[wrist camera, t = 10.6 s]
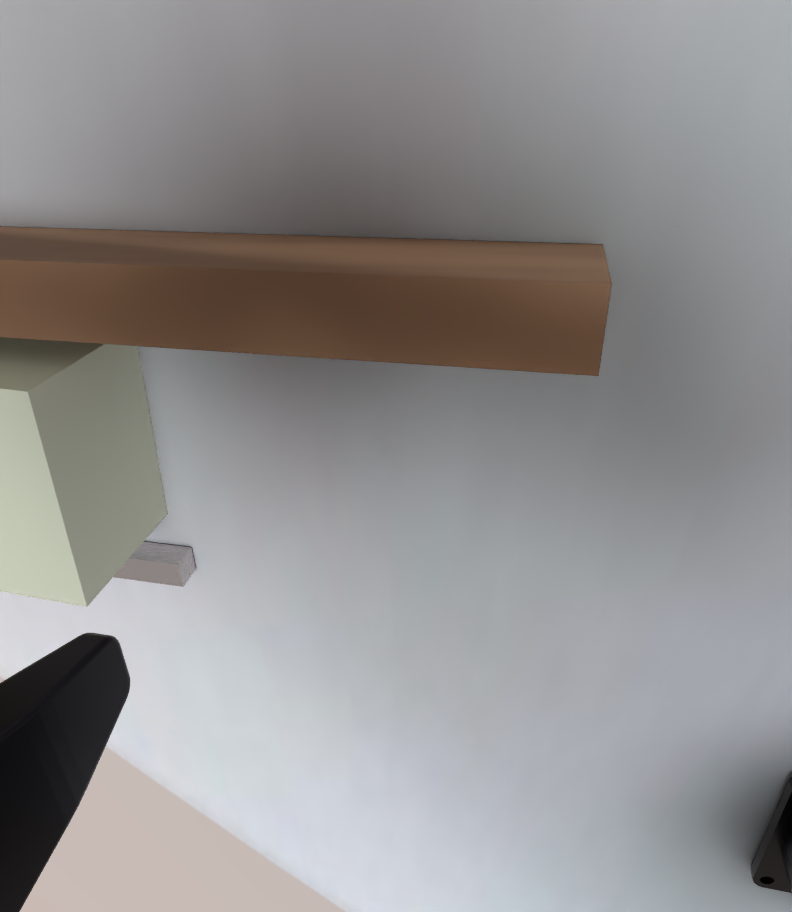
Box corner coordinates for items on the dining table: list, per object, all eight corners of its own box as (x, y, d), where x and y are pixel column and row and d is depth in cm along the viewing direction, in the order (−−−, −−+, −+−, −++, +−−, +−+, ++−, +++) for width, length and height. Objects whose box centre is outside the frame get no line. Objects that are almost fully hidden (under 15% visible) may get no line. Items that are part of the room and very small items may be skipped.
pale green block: (172, 529, 25) (92, 626, 20) (49, 510, 25) (-52, 600, 21) (136, 324, 21) (27, 391, 16) (-9, 309, 21) (-147, 370, 17)
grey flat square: (196, 568, 25) (183, 586, 24) (-36, 538, 27) (-55, 554, 26) (142, 316, 20) (124, 327, 19) (-135, 300, 22) (-163, 310, 21)
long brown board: (592, 322, 18) (598, 376, 15) (-167, 284, 22) (-280, 319, 19) (602, 244, 17) (611, 284, 14) (-195, 220, 21) (-318, 246, 18)
